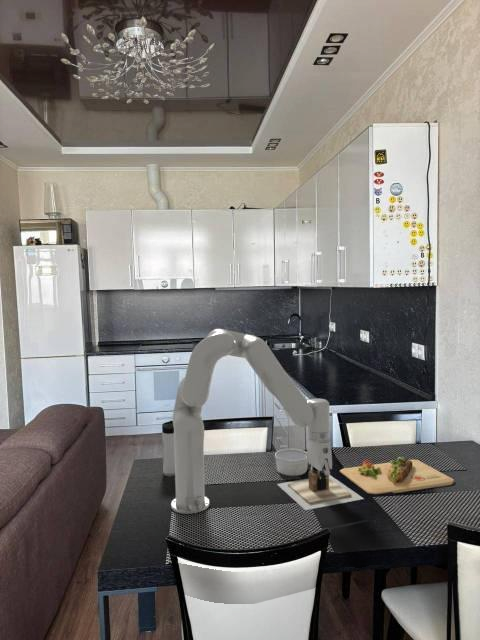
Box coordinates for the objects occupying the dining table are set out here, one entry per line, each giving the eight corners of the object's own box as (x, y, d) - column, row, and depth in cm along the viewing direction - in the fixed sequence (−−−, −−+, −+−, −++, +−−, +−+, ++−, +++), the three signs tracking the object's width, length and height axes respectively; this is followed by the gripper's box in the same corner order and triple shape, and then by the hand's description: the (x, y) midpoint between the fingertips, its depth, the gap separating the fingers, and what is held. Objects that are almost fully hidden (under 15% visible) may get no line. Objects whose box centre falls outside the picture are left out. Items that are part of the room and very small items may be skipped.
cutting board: (370, 498, 163) (370, 477, 162) (337, 473, 185) (337, 454, 185) (456, 485, 172) (456, 465, 172) (415, 463, 195) (415, 445, 194)
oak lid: (351, 496, 162) (351, 476, 161) (309, 504, 156) (309, 484, 156) (327, 479, 177) (327, 461, 176) (287, 485, 171) (287, 467, 171)
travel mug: (181, 470, 189) (180, 420, 188) (177, 476, 183) (176, 425, 181) (165, 470, 190) (164, 420, 188) (161, 476, 183) (160, 425, 182)
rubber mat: (364, 500, 160) (364, 498, 160) (305, 511, 152) (305, 510, 152) (330, 476, 181) (330, 475, 180) (276, 485, 173) (276, 484, 173)
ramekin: (307, 479, 178) (307, 461, 178) (272, 477, 181) (272, 459, 181) (310, 466, 191) (309, 449, 191) (277, 464, 194) (277, 447, 194)
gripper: (340, 440, 159) (340, 494, 160) (316, 427, 174) (316, 476, 175) (320, 443, 156) (321, 498, 157) (297, 429, 172) (298, 479, 173)
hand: (318, 486), depth 166 cm, fingers closed on oak lid, 3 cm apart
